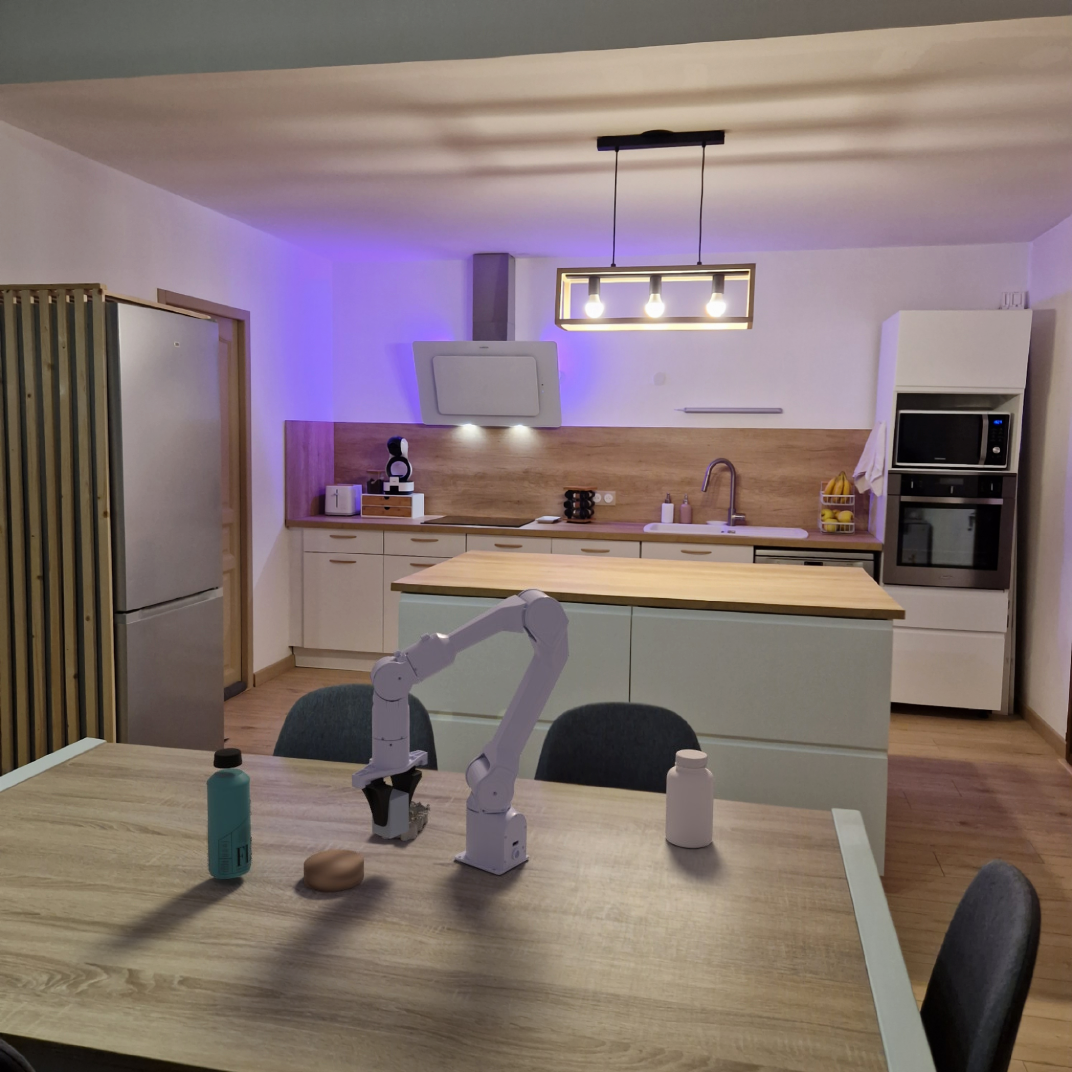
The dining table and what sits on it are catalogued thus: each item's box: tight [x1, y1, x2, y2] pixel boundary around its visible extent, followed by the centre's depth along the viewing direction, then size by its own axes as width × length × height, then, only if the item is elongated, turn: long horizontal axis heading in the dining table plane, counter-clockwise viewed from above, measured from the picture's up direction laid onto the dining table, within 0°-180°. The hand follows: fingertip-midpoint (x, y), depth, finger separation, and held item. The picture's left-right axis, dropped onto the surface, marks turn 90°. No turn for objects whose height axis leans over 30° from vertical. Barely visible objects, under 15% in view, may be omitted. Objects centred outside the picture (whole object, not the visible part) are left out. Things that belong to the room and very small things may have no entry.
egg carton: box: [378, 800, 431, 842], centre depth 161 cm, size 11×8×4 cm
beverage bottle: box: [205, 747, 253, 880], centre depth 140 cm, size 6×7×20 cm
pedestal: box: [303, 849, 365, 893], centre depth 142 cm, size 9×9×2 cm
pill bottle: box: [664, 749, 715, 849], centre depth 158 cm, size 8×8×15 cm
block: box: [371, 789, 409, 839], centre depth 145 cm, size 4×4×6 cm
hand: (391, 820), depth 145 cm, fingers closed on block, 4 cm apart
